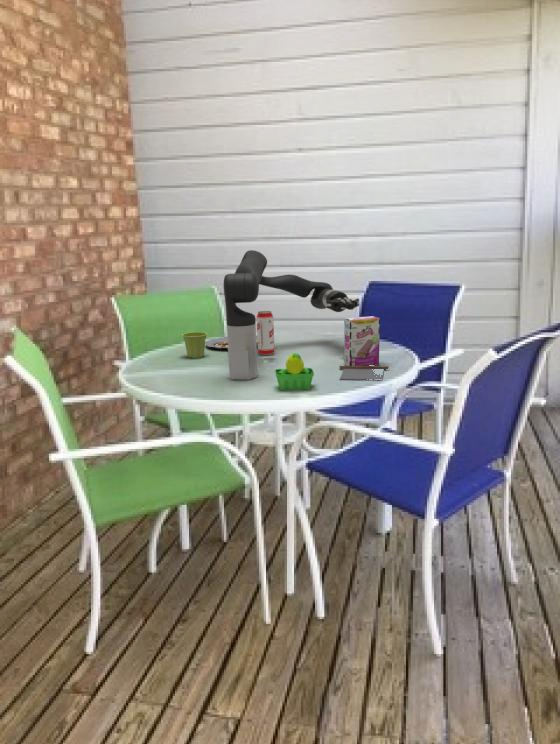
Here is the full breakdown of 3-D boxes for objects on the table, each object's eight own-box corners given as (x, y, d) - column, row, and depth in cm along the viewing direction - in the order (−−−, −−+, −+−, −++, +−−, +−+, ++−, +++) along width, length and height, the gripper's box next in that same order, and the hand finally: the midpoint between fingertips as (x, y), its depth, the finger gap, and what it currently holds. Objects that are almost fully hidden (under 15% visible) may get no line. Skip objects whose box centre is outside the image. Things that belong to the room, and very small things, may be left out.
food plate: (260, 337, 278) (260, 329, 277) (273, 348, 256) (272, 339, 255) (202, 344, 272) (201, 335, 272) (210, 355, 250) (209, 346, 250)
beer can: (275, 352, 247) (274, 310, 244) (273, 355, 241) (272, 312, 238) (259, 352, 248) (257, 310, 244) (257, 356, 242) (255, 313, 238)
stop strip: (388, 370, 213) (388, 366, 212) (339, 369, 216) (339, 366, 215) (388, 369, 213) (388, 366, 213) (339, 369, 217) (339, 365, 216)
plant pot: (205, 353, 251) (204, 331, 249) (210, 357, 242) (209, 334, 240) (181, 355, 248) (180, 333, 246) (185, 360, 239) (184, 337, 237)
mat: (382, 380, 200) (382, 379, 200) (339, 379, 203) (339, 378, 203) (383, 370, 213) (383, 369, 213) (344, 369, 216) (344, 368, 215)
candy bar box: (350, 369, 216) (349, 320, 212) (343, 366, 221) (343, 318, 217) (380, 365, 220) (380, 317, 216) (373, 362, 225) (373, 315, 221)
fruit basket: (312, 383, 200) (311, 347, 197) (315, 391, 191) (314, 353, 189) (275, 385, 199) (274, 349, 197) (276, 392, 191) (274, 355, 188)
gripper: (352, 309, 245) (369, 315, 229) (318, 311, 242) (333, 318, 226) (351, 289, 243) (369, 294, 227) (318, 291, 240) (333, 297, 224)
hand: (351, 306), depth 226 cm, fingers closed
